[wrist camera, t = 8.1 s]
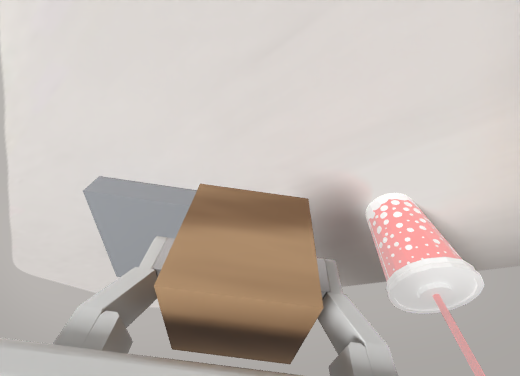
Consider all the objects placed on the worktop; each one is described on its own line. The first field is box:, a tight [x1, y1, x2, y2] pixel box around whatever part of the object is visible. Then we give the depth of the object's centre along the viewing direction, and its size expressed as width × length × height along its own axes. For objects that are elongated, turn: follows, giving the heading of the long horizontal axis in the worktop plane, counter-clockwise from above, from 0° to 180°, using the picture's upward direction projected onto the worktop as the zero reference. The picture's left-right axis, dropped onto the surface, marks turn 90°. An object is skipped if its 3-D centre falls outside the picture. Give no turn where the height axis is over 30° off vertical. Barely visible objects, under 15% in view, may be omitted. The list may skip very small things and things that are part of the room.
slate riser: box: [83, 176, 197, 277], centre depth 28 cm, size 14×14×2 cm
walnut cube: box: [154, 184, 323, 364], centre depth 10 cm, size 5×5×5 cm
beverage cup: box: [366, 193, 485, 376], centre depth 19 cm, size 6×6×14 cm
